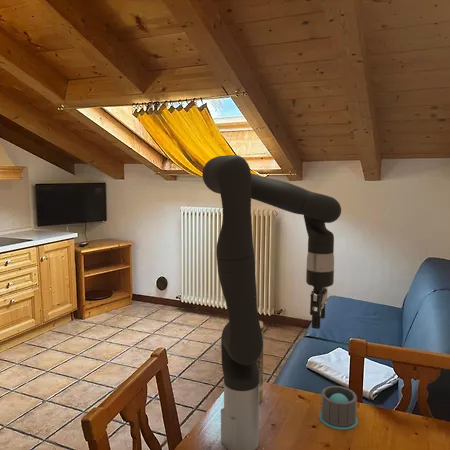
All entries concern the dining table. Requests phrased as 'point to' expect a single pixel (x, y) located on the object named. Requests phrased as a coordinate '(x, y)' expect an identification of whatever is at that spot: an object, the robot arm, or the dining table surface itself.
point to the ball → (339, 398)
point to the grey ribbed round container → (338, 409)
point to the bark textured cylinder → (260, 368)
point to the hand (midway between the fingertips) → (318, 322)
